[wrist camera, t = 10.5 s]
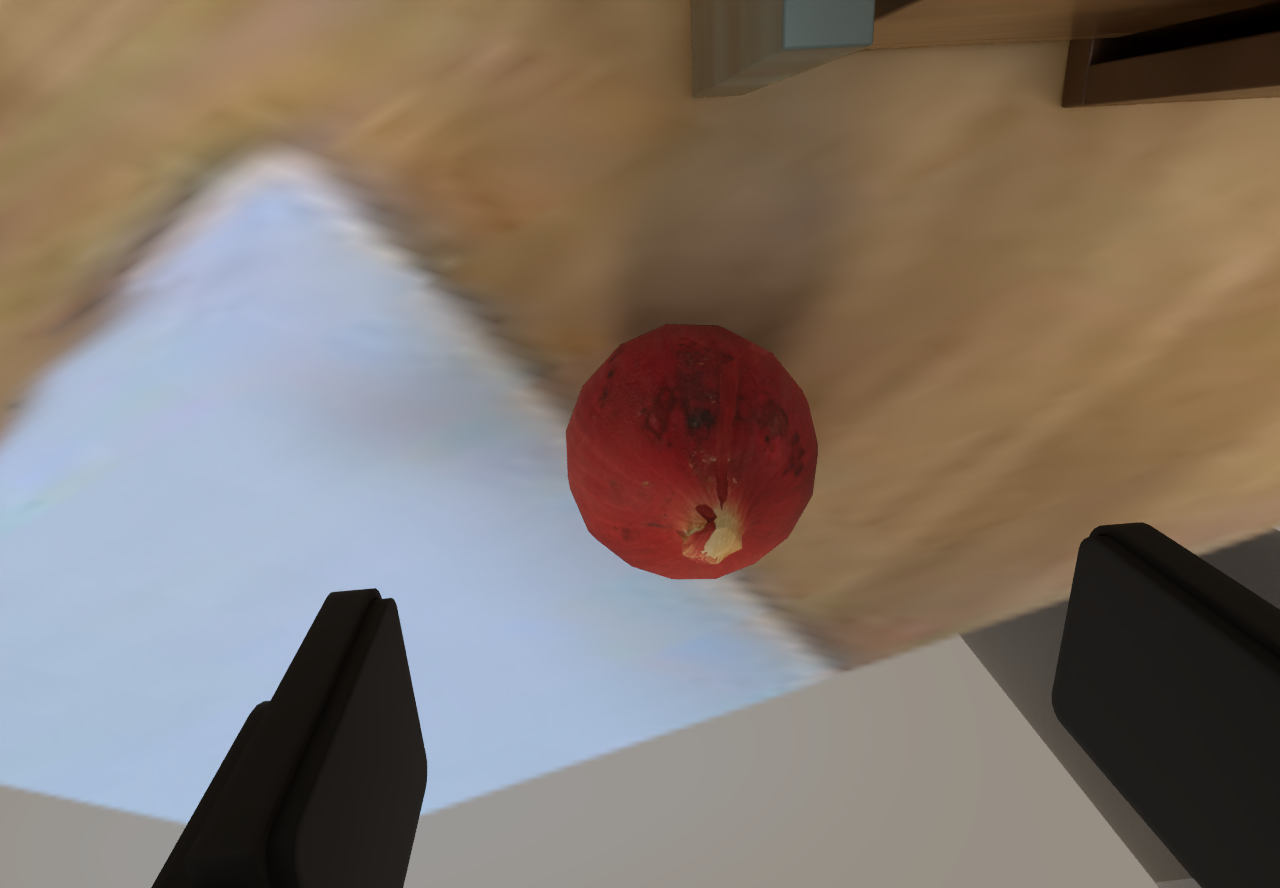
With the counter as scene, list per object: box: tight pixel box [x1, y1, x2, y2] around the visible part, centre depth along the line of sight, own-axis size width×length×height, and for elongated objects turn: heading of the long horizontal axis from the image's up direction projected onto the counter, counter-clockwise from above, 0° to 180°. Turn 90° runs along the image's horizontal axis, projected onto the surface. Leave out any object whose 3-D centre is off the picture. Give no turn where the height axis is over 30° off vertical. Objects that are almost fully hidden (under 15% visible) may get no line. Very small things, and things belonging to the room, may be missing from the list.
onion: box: [566, 324, 818, 579], centre depth 17 cm, size 6×6×8 cm
